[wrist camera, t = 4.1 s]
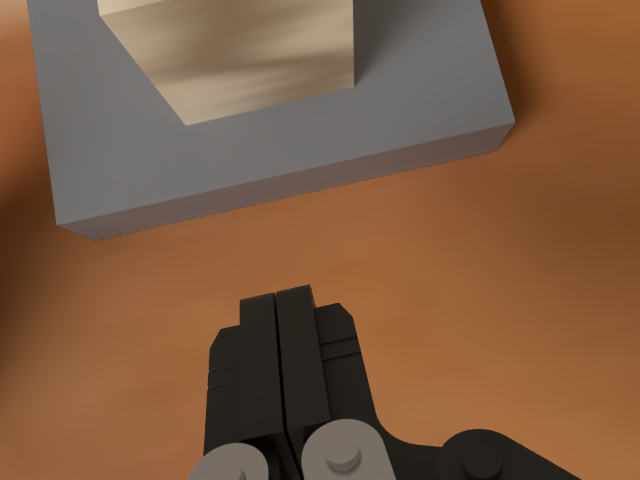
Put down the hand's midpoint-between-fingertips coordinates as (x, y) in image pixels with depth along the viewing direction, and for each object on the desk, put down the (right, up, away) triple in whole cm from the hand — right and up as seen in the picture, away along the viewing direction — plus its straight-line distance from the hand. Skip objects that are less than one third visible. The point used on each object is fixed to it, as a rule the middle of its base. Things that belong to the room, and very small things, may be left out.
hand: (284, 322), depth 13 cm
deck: (-2, +9, +11) cm, 15 cm away
